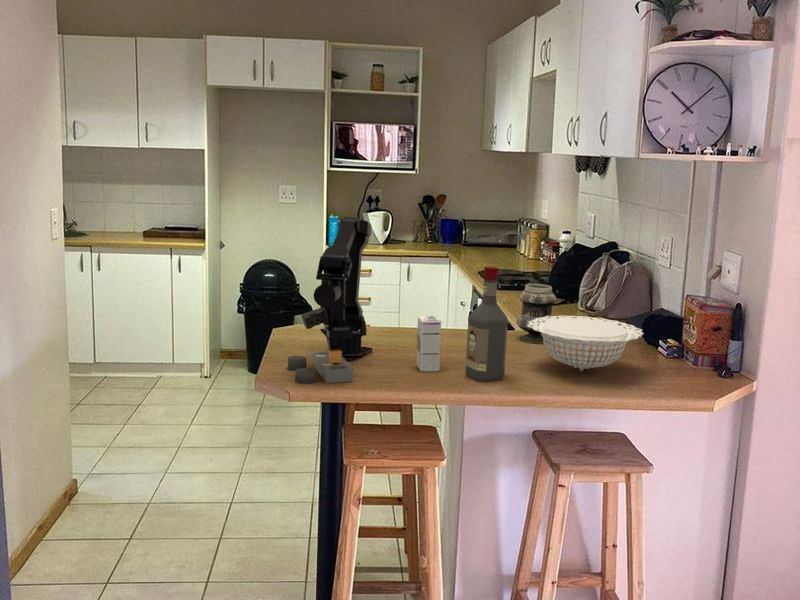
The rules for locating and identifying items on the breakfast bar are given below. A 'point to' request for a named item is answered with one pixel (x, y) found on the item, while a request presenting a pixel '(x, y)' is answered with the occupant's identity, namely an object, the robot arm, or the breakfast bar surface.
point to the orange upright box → (335, 356)
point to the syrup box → (428, 343)
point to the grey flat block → (332, 368)
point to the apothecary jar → (535, 309)
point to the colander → (584, 338)
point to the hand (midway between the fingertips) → (332, 356)
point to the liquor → (487, 334)
